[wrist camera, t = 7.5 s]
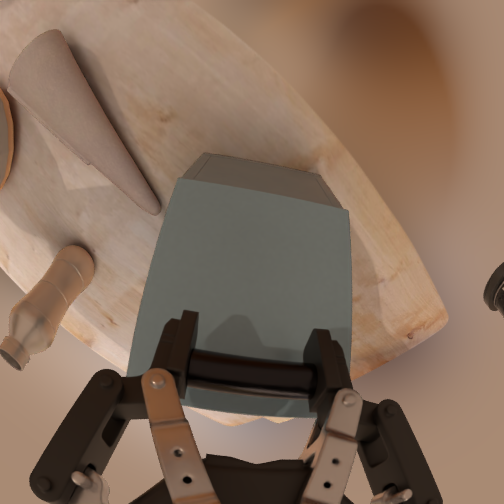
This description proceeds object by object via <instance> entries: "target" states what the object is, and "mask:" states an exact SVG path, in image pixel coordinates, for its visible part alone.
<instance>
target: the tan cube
mask: <svg viewBox="0 0 504 504" xmlns="http://www.w3.org/2000/svg"><path fill="white" fill-rule="evenodd" d="M263 417H264V418H266V419H269V420H271V421H273V422H275V423H281V422H284V421H287V420H290V419H293V418H282V417H266V416H263Z"/></svg>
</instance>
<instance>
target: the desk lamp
mask: <svg viewBox="0 0 504 504" xmlns="http://www.w3.org/2000/svg"><path fill="white" fill-rule="evenodd" d="M13 151H14V145H13V121H12V117H11V112H10V107H9V102H8V100H7V99H6V97H5V95H4V93H3V91H2V90H1V88H0V190H1V189H2V188H3V186H4V183H5V181H6V179H7V177H8V175H9V173H10V168H11V162H12V156H13Z"/></svg>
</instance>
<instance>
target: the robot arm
mask: <svg viewBox="0 0 504 504" xmlns="http://www.w3.org/2000/svg"><path fill="white" fill-rule="evenodd" d="M493 304H494V306H495V307H496V308H497V309H498V310H499V312H500V313H501V315H502V316H503V318H504V279H503V281H502V282H501V283H500V285H499V286H498V288H497V290H496V292H495V294H494V297H493ZM198 319H199V312H196V311H190V310H185V309H184V310H183V313H182V316H181V320H180V319H174V318H171V319H170V320H169V321H168V322H167V323H166V324H165V325H164V328H163V331H162V335H161V337H160V340H159V343H158V346H157V349H156V352H155V355H154V358H153V361H152V364H151V366H150V368H149V370H148V371H146V372H145V373H144V374H142V375H139V376H133V377H121V376H120V375H119V374H118V373H117V372H116V371H114V370H111V369H103V370H100V371H98V372H96V373H95V374H94V375H93V377H92V378H91V380H90V381H89V383H88V384H87V386H86V387H85V388H84V390H83V391H82V393H81V394H80V396H79V397H78V399H77V400H76V402H75V403H74V405H73V406H72V408H71V409H70V411H69V412H68V414H67V416H66V417H65V419H64V420H63V422H62V423H61V425H60V426H59V428H58V430H57V431H56V433H55V434H54V436H53V438H52V439H51V441H50V443H49V444H48V446H47V447H46V449H45V451H44V452H43V454H42V456H41V457H40V459H39V461H38V463H37V464H36V466H35V468H34V469H33V471H32V473H31V475H30V478H29V479H30V481H29V482H30V487H31V489H32V491H33V492H34V494H35V495H36V496H37V497H38V498H40V499H41V500H44V501H46V502H48V503H50V504H109V502H108V496H109V492H110V489H109V485H108V483H107V481H106V480H105V479H104V478H103V477H102V476H101V475H102V473H103V471H104V469H105V467H106V466H107V464H108V462H109V459H110V458H111V456H112V454H113V452H114V450H115V448H116V446H117V444H118V442H119V440H120V438H121V436H122V434H123V433H124V431H125V429H126V427H127V425H128V423H129V421H130V420H131V419H149V423H150V428H151V433H152V437H153V441H154V444H155V448H156V451H157V455H158V459H159V462H160V466H161V469H162V472H163V475H164V479H162V480H161V481H160V482H158V483H157V484H156V485H154V486H153V487H152V488H150V489H149V490H147V491H146V492H145V493H144V494H142V495H141V496H139V497H138V498H137V499H135V500H133V501H132V502H130V503H129V504H354V503H353V502H351V501H350V500H349V499H348V498H347V497H346V496H345V495H344V491H345V488H346V485H347V482H348V478H349V475H350V472H351V469H352V465H353V462H354V458H355V455H356V451H357V452H358V454H359V457H360V460H361V462H362V465H363V468H364V471H365V473H366V476H367V479H368V481H369V484H370V487H371V490H372V493H373V495H374V497H373V498H372V500H371V503H370V504H443V500H442V497H441V495H440V492H439V490H438V487H437V485H436V482H435V480H434V478H433V475H432V473H431V471H430V469H429V466H428V464H427V462H426V459H425V457H424V455H423V453H422V451H421V448H420V446H419V444H418V442H417V440H416V438H415V435H414V433H413V432H412V429H411V427H410V425H409V423H408V421H407V419H406V417H405V415H404V413H403V411H402V409H401V407H400V405H399V404H398V403H397V402H395V401H393V400H390V399H387V400H383V401H381V402H380V403H379V404H376V403H372V402H368V401H365V400H363V399H362V397H361V396H360V394H359V393H358V392H357V391H355V390H353V387H352V383H351V379H350V375H349V371H348V367H347V365H346V359H345V355H344V352H343V348H342V347H341V345H340V344H339V343H338V341H337V340H332V339H331V335H330V331H329V330H328V329H318V328H314V329H313V330H312V332H311V335H310V337H309V339H308V341H307V343H306V345H305V348H304V351H303V362H305V363H314V364H315V366H316V368H317V373H318V381H317V388H316V391H315V394H314V396H313V398H312V399H311V400H308V404H309V412H310V413H317V419H316V420H315V422H314V425H313V428H312V430H311V433H310V435H309V438H308V440H307V443H306V445H305V448H304V450H303V452H302V454H301V455H300V457H299V458H298V460H277V461H271V462H266V463H261V464H253V463H249V462H246V461H243V460H240V459H236V458H233V457H228V456H219V455H212V454H206V458H204V459H201V456H200V454H199V451H198V448H197V445H196V443H195V440H194V437H193V434H192V431H191V428H190V425H189V423H188V420H187V419H186V418H185V415H184V412H183V409H182V405H181V402H180V399H184V400H185V395H186V390H187V372H188V365H189V360H190V355H191V351H192V349H193V348H195V346H196V341H197V333H198Z"/></svg>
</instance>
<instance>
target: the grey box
mask: <svg viewBox="0 0 504 504" xmlns="http://www.w3.org/2000/svg"><path fill="white" fill-rule="evenodd" d="M181 178H184V179H191V180H197V181H204V182H210V183H216V184H223V185H228V186H234V187H240V188H246V189H251V190H256V191H262V192H267V193H272V194H277V195H282V196H287V197H292V198H297V199H301V200H306V201H311V202H315V203H320V204H324V205H329V206H333V207H337V208H341V209H343V207H342V206H341V204H340V203H339V201H338V200H337V198H336V197H335V195H334V194H333V192H332V191H331V190H330V188H329V187H328V185H327V184H326V183H325V181H324V180H323V178H322V177H321V175H317V174H313V173H309V172H305V171H300V170H296V169H291V168H287V167H282V166H277V165H272V164H267V163H262V162H257V161H252V160H246V159H241V158H235V157H229V156H223V155H216V154H210V153H203V154H202V155H201V156H200V157H199V158H198V159H197V161H196V162H195V163H194V164H193V165H192V166H191V167H190V168H189V169H188V171H187V172H186V173H185V174H184V175H183V176H182V177H181Z"/></svg>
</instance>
